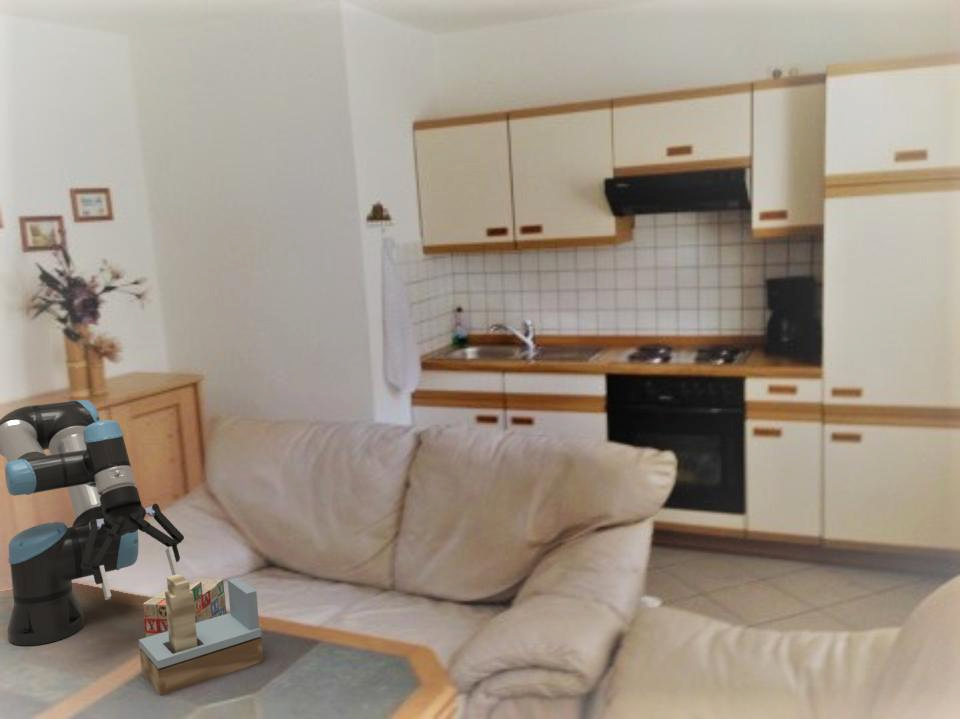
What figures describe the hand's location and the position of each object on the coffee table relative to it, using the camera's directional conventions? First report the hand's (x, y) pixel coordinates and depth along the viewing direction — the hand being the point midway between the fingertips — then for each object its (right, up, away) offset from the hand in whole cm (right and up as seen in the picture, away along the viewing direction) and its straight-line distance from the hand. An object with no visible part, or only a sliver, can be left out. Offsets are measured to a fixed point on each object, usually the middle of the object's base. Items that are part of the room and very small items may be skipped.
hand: (143, 588), depth 173 cm
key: (+12, -14, -11) cm, 22 cm away
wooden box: (+14, -15, -6) cm, 21 cm away
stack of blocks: (+6, -13, +9) cm, 17 cm away
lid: (+14, -9, -7) cm, 18 cm away
